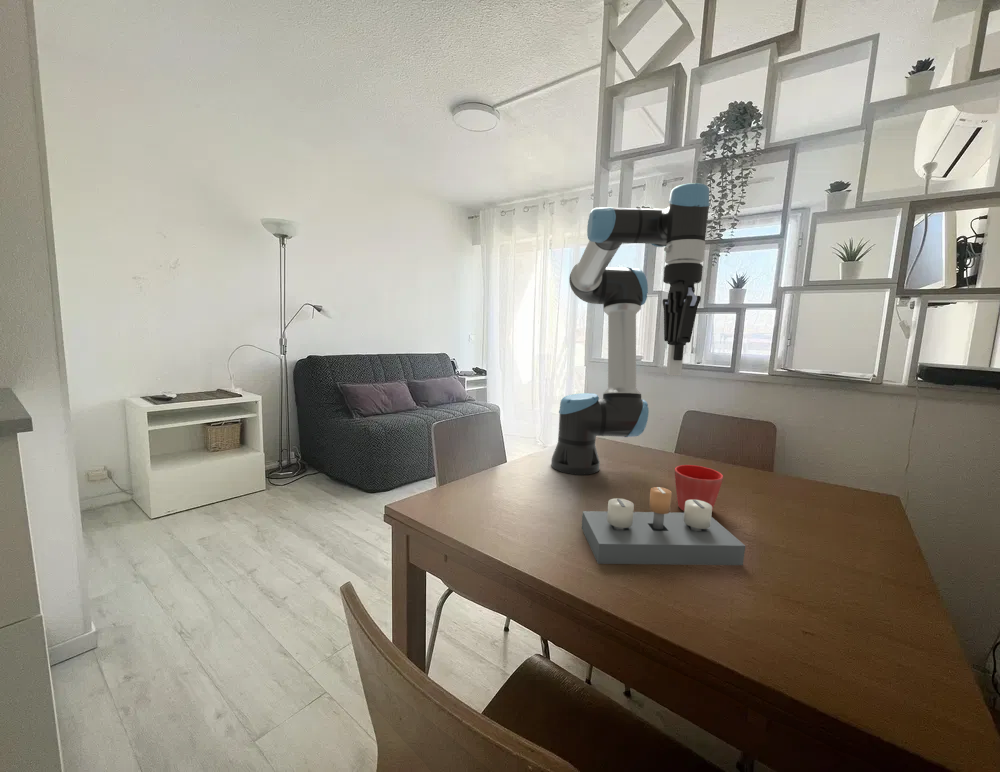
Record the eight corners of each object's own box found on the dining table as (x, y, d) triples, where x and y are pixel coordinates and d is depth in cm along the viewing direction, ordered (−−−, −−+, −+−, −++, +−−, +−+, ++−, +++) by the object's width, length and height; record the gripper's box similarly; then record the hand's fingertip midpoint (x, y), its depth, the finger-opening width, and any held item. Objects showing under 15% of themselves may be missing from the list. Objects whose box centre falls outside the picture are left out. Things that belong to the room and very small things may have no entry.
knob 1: (603, 533, 89) (605, 497, 88) (626, 533, 89) (629, 497, 88) (609, 545, 84) (612, 507, 83) (634, 545, 84) (637, 507, 83)
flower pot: (725, 521, 99) (729, 481, 98) (676, 515, 101) (679, 476, 100) (712, 502, 109) (716, 466, 108) (667, 498, 111) (670, 462, 110)
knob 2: (677, 534, 89) (681, 498, 88) (700, 534, 89) (704, 498, 88) (688, 546, 84) (692, 508, 83) (713, 546, 84) (717, 509, 83)
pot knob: (644, 522, 88) (647, 486, 87) (663, 522, 88) (666, 486, 87) (652, 531, 84) (655, 493, 83) (671, 532, 84) (675, 494, 83)
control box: (581, 528, 93) (582, 511, 93) (705, 529, 94) (707, 513, 94) (597, 563, 79) (599, 543, 79) (743, 565, 80) (745, 545, 80)
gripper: (653, 267, 95) (645, 371, 98) (679, 258, 82) (669, 378, 85) (686, 268, 95) (677, 372, 98) (717, 259, 82) (705, 379, 86)
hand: (673, 374), depth 92 cm, fingers closed
